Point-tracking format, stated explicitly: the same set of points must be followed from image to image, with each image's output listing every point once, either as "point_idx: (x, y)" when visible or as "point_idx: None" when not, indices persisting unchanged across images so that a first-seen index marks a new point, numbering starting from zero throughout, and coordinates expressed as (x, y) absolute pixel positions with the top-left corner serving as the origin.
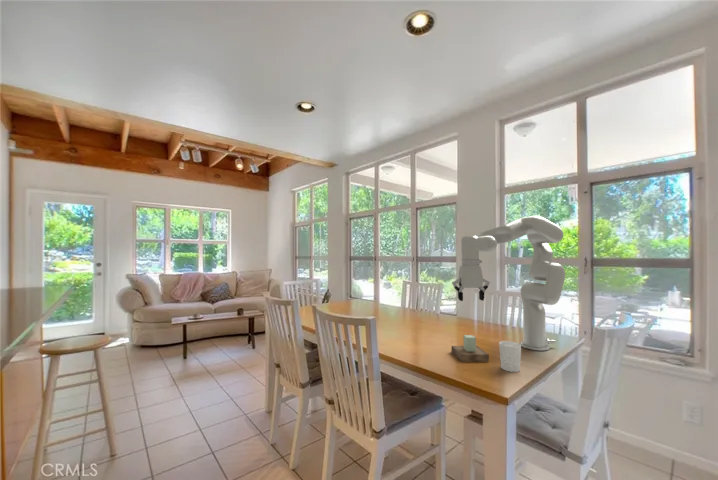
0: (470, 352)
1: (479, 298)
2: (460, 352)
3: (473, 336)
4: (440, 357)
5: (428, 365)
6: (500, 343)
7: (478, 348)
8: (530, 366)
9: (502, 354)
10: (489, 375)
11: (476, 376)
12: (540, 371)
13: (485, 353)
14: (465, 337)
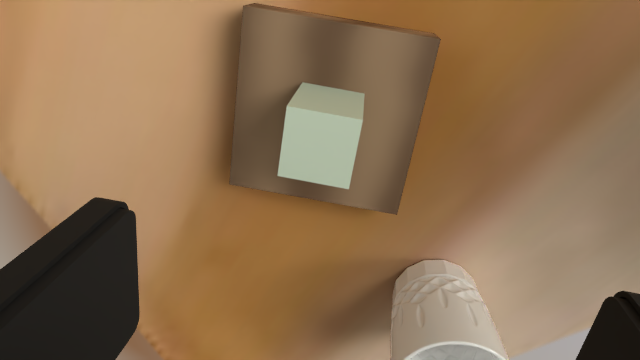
0: None
1: (614, 317)
2: (243, 149)
3: (349, 157)
4: (148, 81)
5: (54, 176)
6: (421, 344)
7: (408, 102)
8: (562, 292)
9: (390, 346)
10: (289, 324)
11: (229, 319)
12: (550, 342)
13: (389, 196)
14: (282, 146)
